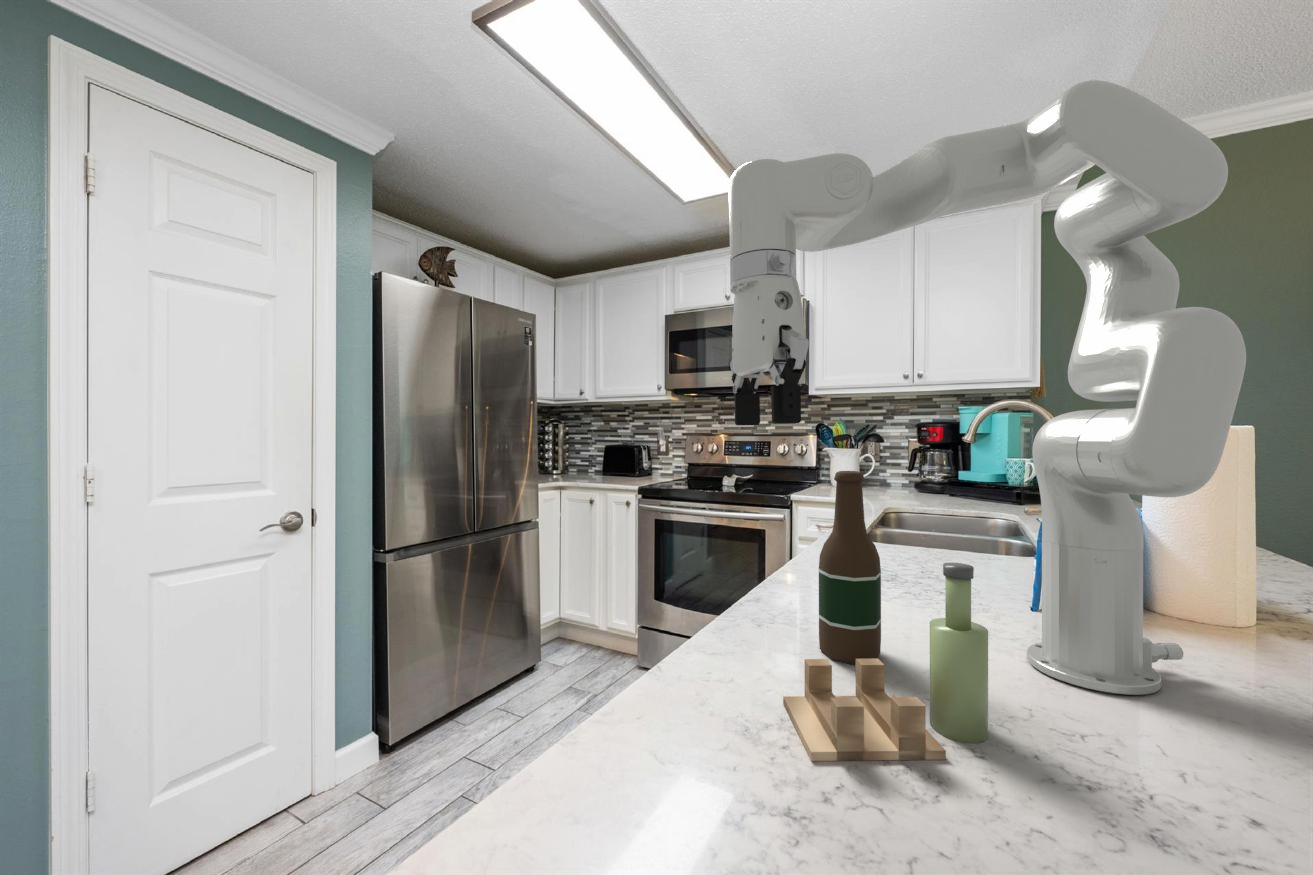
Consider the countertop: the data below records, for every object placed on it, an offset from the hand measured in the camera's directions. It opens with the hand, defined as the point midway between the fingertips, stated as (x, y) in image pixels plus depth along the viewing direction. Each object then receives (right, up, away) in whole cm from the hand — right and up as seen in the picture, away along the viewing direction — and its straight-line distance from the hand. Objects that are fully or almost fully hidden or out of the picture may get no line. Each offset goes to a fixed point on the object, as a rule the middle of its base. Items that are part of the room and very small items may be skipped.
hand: (765, 424), depth 62 cm
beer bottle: (+13, -30, +8) cm, 34 cm away
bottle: (+17, -30, -10) cm, 36 cm away
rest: (+7, -30, -10) cm, 32 cm away
